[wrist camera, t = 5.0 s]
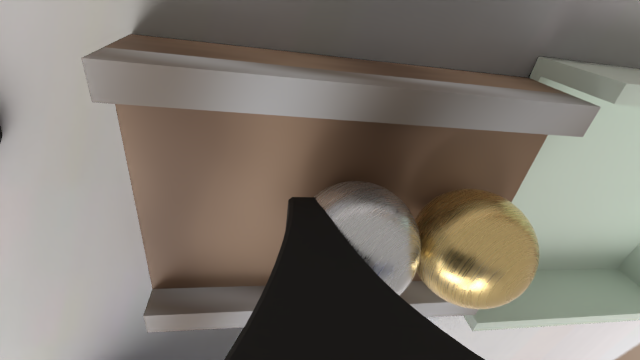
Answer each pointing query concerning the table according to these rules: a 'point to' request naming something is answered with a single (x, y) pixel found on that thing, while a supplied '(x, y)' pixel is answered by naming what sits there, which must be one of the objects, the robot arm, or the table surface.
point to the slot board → (298, 154)
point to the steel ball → (376, 229)
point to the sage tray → (582, 208)
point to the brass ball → (476, 249)
